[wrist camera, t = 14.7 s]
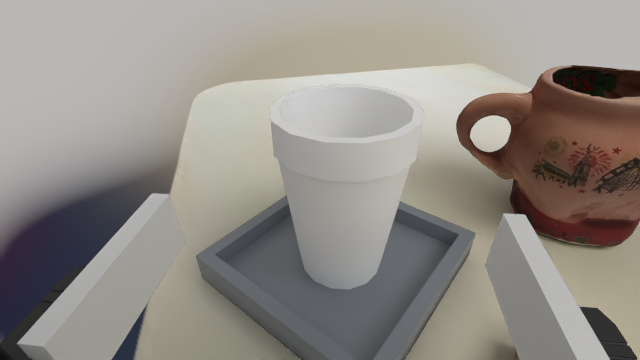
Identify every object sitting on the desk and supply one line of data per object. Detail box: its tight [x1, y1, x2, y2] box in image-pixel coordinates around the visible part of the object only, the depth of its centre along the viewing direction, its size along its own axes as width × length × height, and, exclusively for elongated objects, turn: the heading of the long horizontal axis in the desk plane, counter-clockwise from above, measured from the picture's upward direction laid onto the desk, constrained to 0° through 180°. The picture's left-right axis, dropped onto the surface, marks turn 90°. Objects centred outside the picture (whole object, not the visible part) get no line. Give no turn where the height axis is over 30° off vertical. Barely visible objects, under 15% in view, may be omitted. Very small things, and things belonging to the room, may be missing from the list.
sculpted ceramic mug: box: [456, 65, 640, 246], centre depth 30 cm, size 20×12×14 cm, turn 80°
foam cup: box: [269, 84, 424, 289], centre depth 25 cm, size 10×9×13 cm
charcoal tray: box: [196, 196, 475, 360], centre depth 28 cm, size 16×16×2 cm
